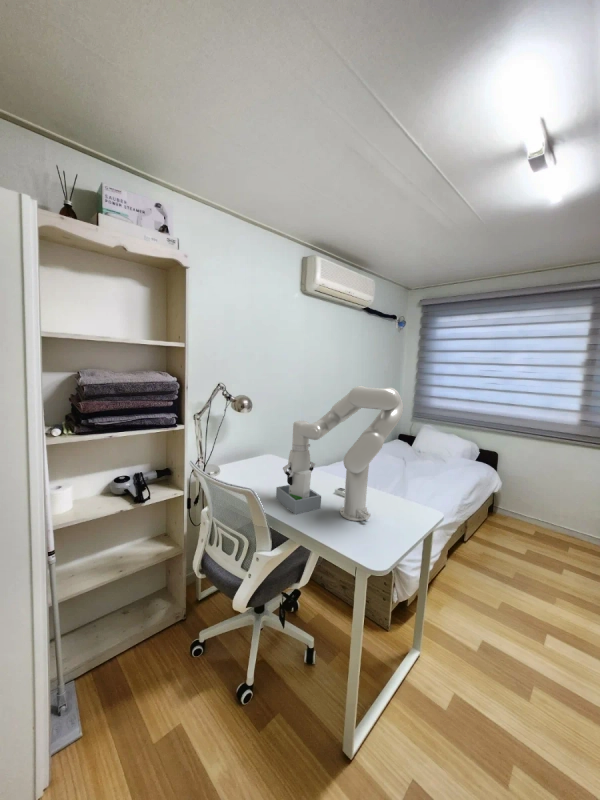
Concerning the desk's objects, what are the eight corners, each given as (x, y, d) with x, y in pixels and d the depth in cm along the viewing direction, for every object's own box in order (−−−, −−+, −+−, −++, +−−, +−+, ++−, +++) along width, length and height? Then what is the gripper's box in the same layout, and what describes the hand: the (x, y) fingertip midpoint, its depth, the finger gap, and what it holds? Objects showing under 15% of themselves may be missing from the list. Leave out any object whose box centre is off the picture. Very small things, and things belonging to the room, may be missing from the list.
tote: (320, 508, 143) (321, 495, 142) (294, 514, 135) (295, 501, 135) (300, 493, 158) (300, 482, 157) (276, 498, 150) (276, 487, 150)
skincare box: (287, 501, 145) (289, 470, 144) (295, 497, 151) (296, 466, 149) (303, 506, 141) (304, 473, 140) (310, 501, 147) (311, 470, 145)
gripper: (311, 443, 151) (309, 477, 153) (280, 447, 142) (278, 482, 144) (319, 447, 145) (318, 482, 147) (288, 451, 136) (286, 488, 138)
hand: (298, 482), depth 146 cm, fingers open, 9 cm apart
